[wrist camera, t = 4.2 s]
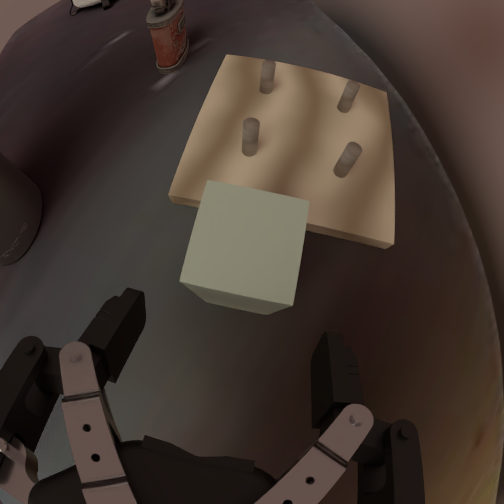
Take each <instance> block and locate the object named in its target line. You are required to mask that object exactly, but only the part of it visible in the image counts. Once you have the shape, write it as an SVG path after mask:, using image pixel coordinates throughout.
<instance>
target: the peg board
mask: <svg viewBox="0 0 504 504" xmlns="http://www.w3.org/2000/svg"><path fill="white" fill-rule="evenodd" d="M207 180H211V181H217V182H222V183H227V184H233V185H238V186H243V187H248V188H253V189H258V190H263V191H267V192H272V193H277V194H281V195H286V196H290V197H295V198H299V199H303V200H307V201H310V203H309V210H308V217H307V224H306V230H307V231H311V232H316V233H320V234H324V235H329V236H333V237H337V238H342V239H346V240H350V241H354V242H358V243H362V244H367V245H371V246H375V247H379V248H383V249H387V248H388V247H390V246H392V245H394V230H395V184H394V161H393V146H392V134H391V124H390V115H389V107H388V100H387V93H386V92H384V91H381V90H379V89H376V88H373V87H370V86H367V85H364V84H361V83H358V82H356V81H354V80H349V79H346V78H342V77H339V76H336V75H332V74H328V73H325V72H321V71H317V70H313V69H309V68H305V67H300V66H296V65H291V64H286V63H281V62H276V61H272V60H264V59H258V58H251V57H244V56H236V55H226V57H225V59H224V61H223V63H222V65H221V67H220V69H219V71H218V73H217V75H216V77H215V79H214V81H213V84H212V86H211V88H210V90H209V92H208V95H207V97H206V99H205V101H204V104H203V106H202V108H201V110H200V113H199V115H198V118H197V120H196V122H195V125H194V127H193V130H192V132H191V135H190V137H189V140H188V142H187V145H186V147H185V150H184V152H183V155H182V158H181V160H180V163H179V166H178V168H177V171H176V174H175V177H174V180H173V182H172V185H171V188H170V191H169V194H168V196H169V198H170V200H171V202H172V203H175V204H180V205H186V206H191V207H196V208H199V206H200V203H201V199H202V196H203V193H204V189H205V186H206V183H207Z"/></svg>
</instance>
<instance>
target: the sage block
mask: <svg viewBox="0 0 504 504" xmlns="http://www.w3.org/2000/svg"><path fill="white" fill-rule="evenodd" d="M309 203H310V201H307V200H303V199H299V198H295V197H290V196H286V195H281V194H277V193H272V192H267V191H263V190H258V189H253V188H248V187H243V186H238V185H233V184H227V183H222V182H217V181H211V180H207V183H206V186H205V189H204V193H203V196H202V199H201V203H200V206H199V210H198V213H197V217H196V220H195V224H194V227H193V231H192V234H191V238H190V242H189V246H188V249H187V253H186V257H185V261H184V265H183V269H182V273H181V277H180V282H181V283H182V284H183V285H185V286H186V287H187V288H188V289H190V290H191V291H192V292H194V293H195V294H196V295H197V296H199V297H200V298H201V299H203V300H204V301H205V302H208V303H212V304H216V305H221V306H225V307H230V308H235V309H239V310H244V311H249V312H254V313H259V314H264V315H268V314H271V313H274V312H277V311H280V310H282V309H285V308H288V307H291V306H293V302H294V297H295V291H296V285H297V280H298V274H299V268H300V262H301V256H302V250H303V243H304V237H305V230H306V224H307V217H308V210H309Z"/></svg>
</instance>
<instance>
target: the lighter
mask: <svg viewBox="0 0 504 504" xmlns="http://www.w3.org/2000/svg"><path fill="white" fill-rule="evenodd" d="M151 4H152V7H151V8H150V10H149V12H148V14H147V18H146V22H147V26H148V27H149V28H150V31H151V36H152V40H153V44H154V48H155V53H156V57H157V68H158V72H160V73H162V74H169V73H173V72H175V71H177V70H178V69H179V68H180V67H181V65H182V64H183V62H184V60H185V58H186V56H187V54H188V49H189V40H188V35H187V34H186V29H185V22H186V21H185V13H184V12H183V5H184V0H151Z"/></svg>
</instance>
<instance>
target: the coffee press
mask: <svg viewBox="0 0 504 504" xmlns="http://www.w3.org/2000/svg"><path fill="white" fill-rule="evenodd" d="M71 2H72V7H73V3H74V5H75V6H77V7H78V8H77V10H76V12H75V13H71V10H72V7H71V9H70V15H72V16H73V15H75V14H76V13H77V11H78V10H79V8H80V7H88V6H92V5H95V4H98V3H101V2H102V5H103V9H104V10H105V9H108V8H110V4H109V0H73V1H72V0H71Z"/></svg>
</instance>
